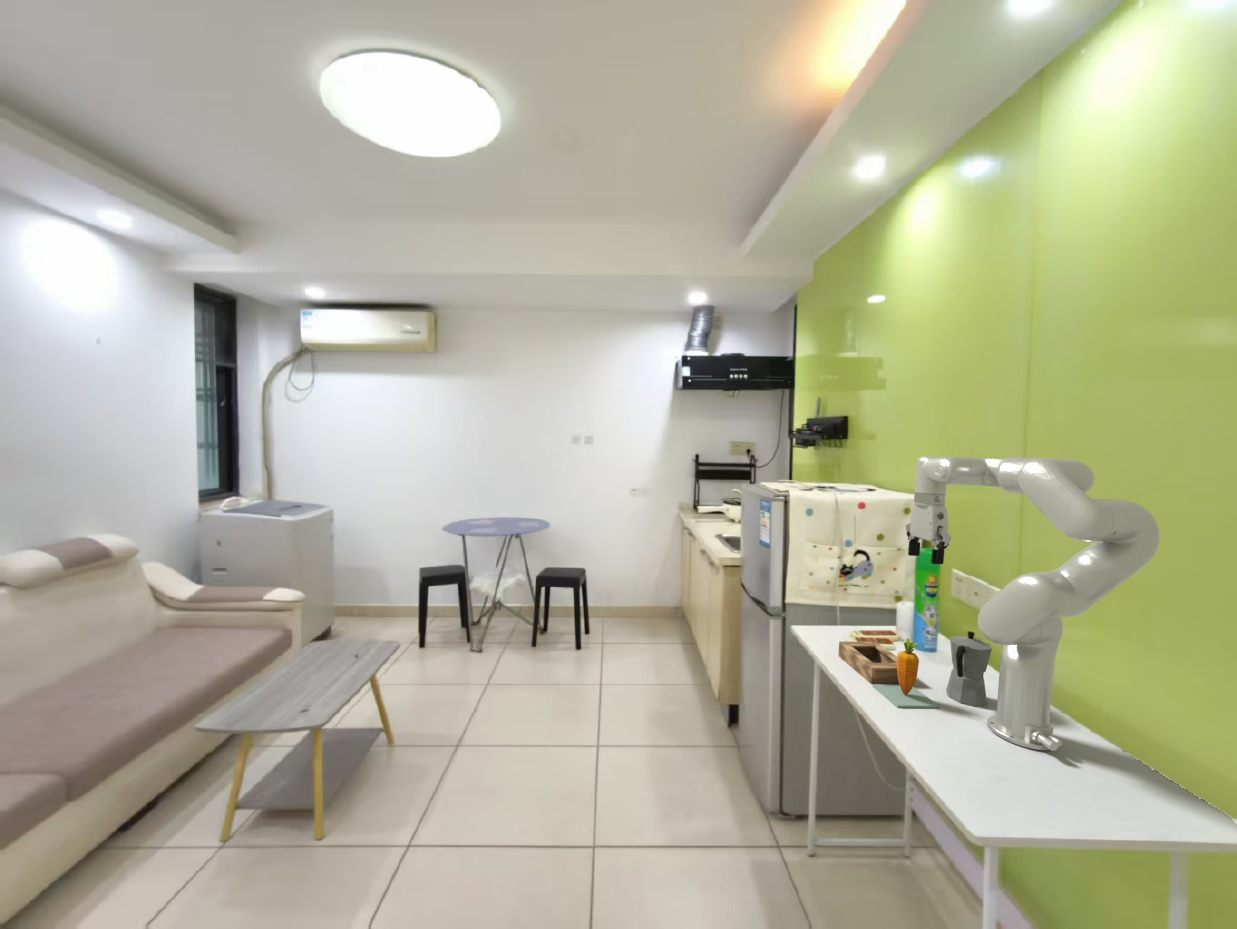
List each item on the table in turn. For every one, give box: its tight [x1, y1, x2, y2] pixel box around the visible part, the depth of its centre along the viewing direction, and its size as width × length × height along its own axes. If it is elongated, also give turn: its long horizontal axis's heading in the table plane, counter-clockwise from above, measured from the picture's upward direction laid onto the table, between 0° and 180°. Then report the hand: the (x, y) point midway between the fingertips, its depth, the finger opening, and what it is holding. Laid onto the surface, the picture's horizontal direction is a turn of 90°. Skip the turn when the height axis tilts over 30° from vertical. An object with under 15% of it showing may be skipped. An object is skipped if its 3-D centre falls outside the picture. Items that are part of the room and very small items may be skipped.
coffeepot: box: [945, 630, 992, 708], centre depth 132 cm, size 15×9×18 cm, turn 129°
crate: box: [837, 641, 900, 685], centre depth 148 cm, size 18×12×5 cm, turn 4°
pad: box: [871, 684, 940, 709], centre depth 132 cm, size 11×11×1 cm
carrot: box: [896, 638, 920, 695], centre depth 132 cm, size 5×5×15 cm
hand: (925, 559), depth 142 cm, fingers open, 9 cm apart
